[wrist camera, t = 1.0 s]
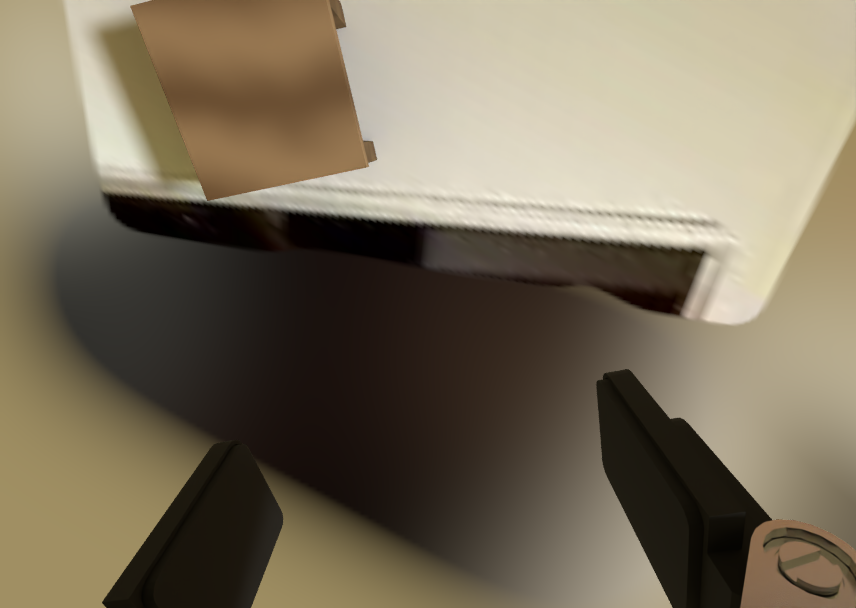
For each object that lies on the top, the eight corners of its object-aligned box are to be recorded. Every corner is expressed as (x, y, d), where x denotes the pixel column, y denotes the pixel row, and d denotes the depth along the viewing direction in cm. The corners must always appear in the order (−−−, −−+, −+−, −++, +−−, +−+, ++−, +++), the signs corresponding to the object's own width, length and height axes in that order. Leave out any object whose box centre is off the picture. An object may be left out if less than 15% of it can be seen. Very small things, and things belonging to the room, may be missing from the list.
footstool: (197, 35, 29) (130, 6, 23) (342, -1, 28) (315, -43, 22) (251, 188, 33) (207, 200, 27) (380, 161, 32) (366, 167, 26)
